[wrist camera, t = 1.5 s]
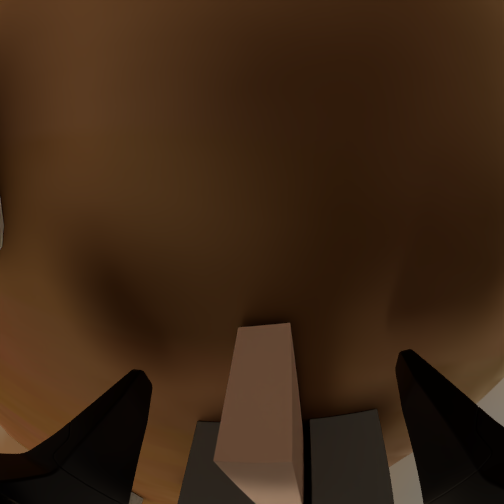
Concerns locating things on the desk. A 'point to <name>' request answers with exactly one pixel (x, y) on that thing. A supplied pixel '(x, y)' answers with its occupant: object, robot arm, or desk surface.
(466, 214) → the desk surface
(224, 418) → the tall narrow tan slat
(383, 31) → the desk surface
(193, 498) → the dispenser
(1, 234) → the foam cup
